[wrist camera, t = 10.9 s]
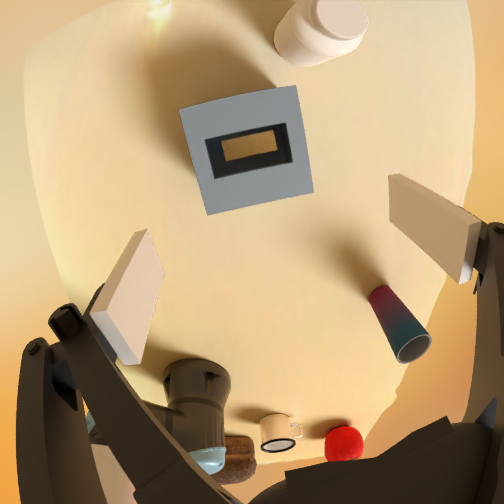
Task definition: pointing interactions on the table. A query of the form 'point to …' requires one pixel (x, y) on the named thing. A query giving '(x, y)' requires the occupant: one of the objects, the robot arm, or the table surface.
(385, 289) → the cup
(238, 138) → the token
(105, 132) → the table surface
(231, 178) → the grey hollow box
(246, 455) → the bread
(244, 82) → the table surface
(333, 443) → the tomato
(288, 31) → the pill bottle
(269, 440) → the mug
